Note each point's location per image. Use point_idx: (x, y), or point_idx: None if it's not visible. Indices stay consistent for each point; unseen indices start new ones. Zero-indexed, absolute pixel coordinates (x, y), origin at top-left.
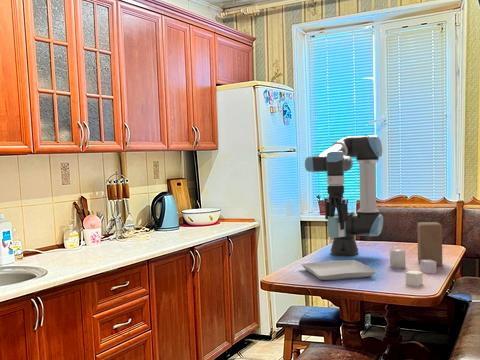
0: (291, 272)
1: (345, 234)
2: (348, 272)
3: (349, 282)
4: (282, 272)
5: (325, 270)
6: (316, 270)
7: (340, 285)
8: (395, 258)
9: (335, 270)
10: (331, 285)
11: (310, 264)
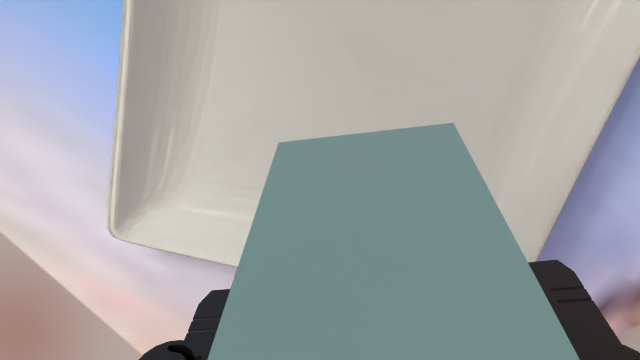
0: (180, 297)
1: (460, 136)
2: (405, 6)
3: (609, 157)
4: (159, 334)
5: (252, 115)
6: (223, 168)
7: (622, 241)
8: None
9: (289, 52)
10: (584, 279)
11: (130, 177)
